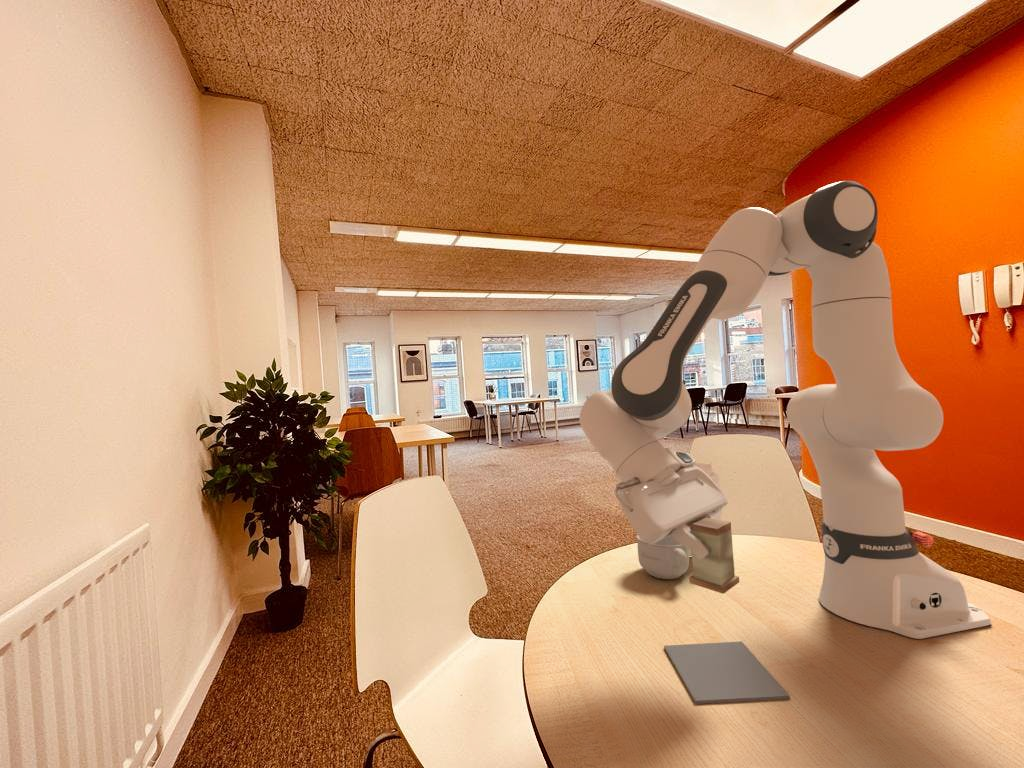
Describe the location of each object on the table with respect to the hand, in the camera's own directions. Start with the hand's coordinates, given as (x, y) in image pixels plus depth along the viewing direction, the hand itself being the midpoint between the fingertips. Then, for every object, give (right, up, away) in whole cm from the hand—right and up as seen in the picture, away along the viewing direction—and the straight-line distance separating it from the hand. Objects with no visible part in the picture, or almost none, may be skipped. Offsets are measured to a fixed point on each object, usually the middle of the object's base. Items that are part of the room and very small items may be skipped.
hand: (716, 550), depth 61 cm
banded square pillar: (0, -5, 0) cm, 5 cm away
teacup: (+4, -18, +31) cm, 36 cm away
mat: (+1, -17, 0) cm, 17 cm away
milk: (+16, -17, +40) cm, 46 cm away
